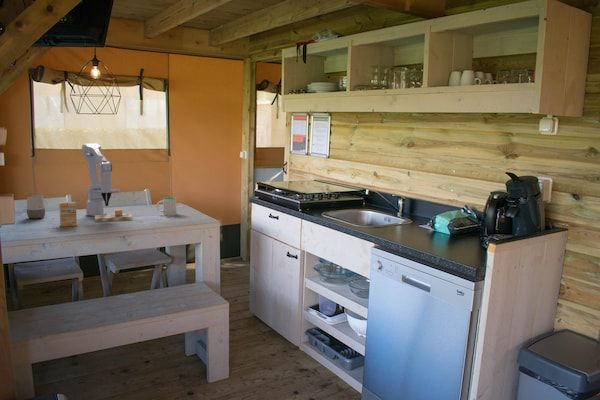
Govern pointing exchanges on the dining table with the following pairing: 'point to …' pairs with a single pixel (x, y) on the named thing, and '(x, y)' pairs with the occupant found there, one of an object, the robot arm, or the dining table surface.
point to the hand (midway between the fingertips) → (106, 205)
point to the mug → (168, 206)
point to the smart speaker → (35, 207)
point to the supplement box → (68, 214)
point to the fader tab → (118, 212)
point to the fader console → (112, 217)
